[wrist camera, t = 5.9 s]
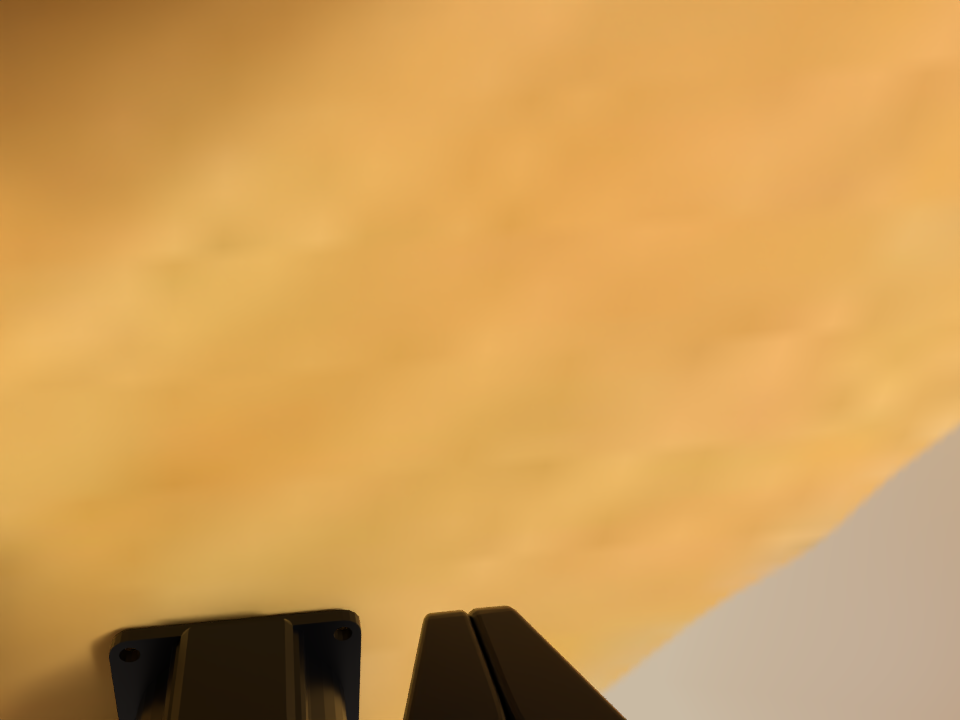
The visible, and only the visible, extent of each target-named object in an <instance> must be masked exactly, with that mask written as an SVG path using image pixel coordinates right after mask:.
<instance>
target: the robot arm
mask: <svg viewBox="0 0 960 720" xmlns="http://www.w3.org/2000/svg"><path fill="white" fill-rule="evenodd" d="M341 627H348V628H347V629H344V630H337V629H338V628H341ZM126 648H135V649H136V650H134V651H130V650H126ZM360 657H361V626H360V620H359V616H358V615H357V614H356V613H355V612H352V611H350V610H335V611H325V612H314V613H303V614H292V615H281V616H271V617H260V618H249V619H238V620H227V621H217V622H206V623H195V624H184V625H174V626H163V627H152V628H141V629H130V630H126V631H122V632H120V633H119V634H117V635H116V636H115V637H114V639H113V640H112V644H111V648H110V654H109V660H110V666H111V673H112V679H113V685H114V692H115V698H116V704H117V711H118V717H119V720H359V691H360ZM403 720H626V719H625V718H624V717H623V716H622V715H621V714H620V713H619V712H618V711H617V710H616V709H615V708H614V707H613V706H612V705H611V704H610V703H609V702H608V701H607V700H606V699H605V698H604V697H603V696H602V695H601V694H600V693H599V692H598V691H597V690H596V689H595V688H594V687H593V686H592V685H591V684H590V683H589V682H588V681H587V680H586V679H585V678H584V677H583V676H582V675H581V674H580V673H579V672H578V671H577V670H576V669H575V668H574V667H573V666H572V665H571V664H570V663H569V662H568V661H567V660H566V659H565V658H564V657H563V656H561V655H560V654H559V653H558V652H557V651H556V650H555V649H554V648H553V647H552V646H551V645H550V644H549V643H548V642H547V641H546V640H545V639H544V638H543V637H542V636H541V635H540V634H539V633H538V632H537V631H536V630H535V629H534V628H533V627H532V626H531V625H530V624H529V623H528V622H527V621H526V620H525V619H524V618H523V617H522V616H521V615H520V614H519V613H518V612H517V611H516V610H514V609H513V608H511V607H509V606H497V607H487V608H476V609H473V610H472V611H470V612H469V614H467V613H466V612H465V611H463V610H457V611H447V612H437V613H430V614H427V615H426V616H425V618H424V620H423V624H422V629H421V634H420V639H419V644H418V649H417V654H416V659H415V664H414V669H413V674H412V679H411V684H410V689H409V693H408V698H407V703H406V708H405V713H404V718H403Z"/></svg>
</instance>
